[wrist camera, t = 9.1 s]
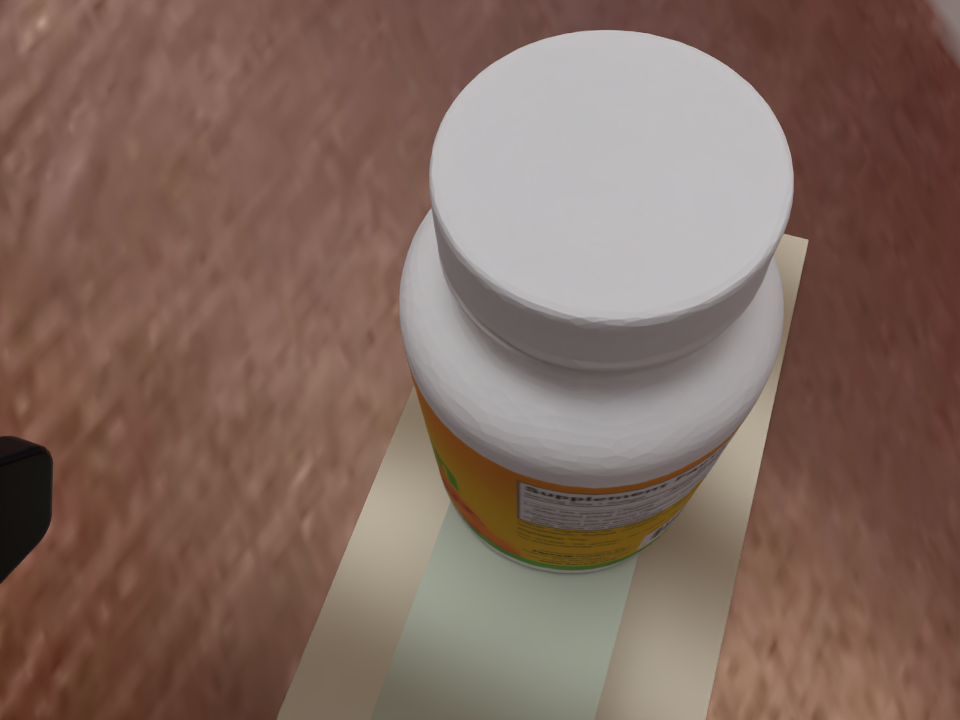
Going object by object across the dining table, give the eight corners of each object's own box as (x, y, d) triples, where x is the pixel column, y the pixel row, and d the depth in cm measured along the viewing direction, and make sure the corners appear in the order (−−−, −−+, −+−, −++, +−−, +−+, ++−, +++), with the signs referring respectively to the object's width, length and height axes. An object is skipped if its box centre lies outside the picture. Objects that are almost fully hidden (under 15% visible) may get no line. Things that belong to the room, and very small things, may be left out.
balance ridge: (643, 965, 17) (676, 1023, 13) (254, 802, 19) (190, 815, 15) (797, 259, 24) (846, 172, 20) (505, 184, 26) (503, 92, 22)
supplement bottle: (434, 348, 19) (360, 2, 10) (669, 330, 19) (799, -35, 10) (445, 588, 17) (361, 408, 8) (713, 568, 17) (931, 364, 8)
